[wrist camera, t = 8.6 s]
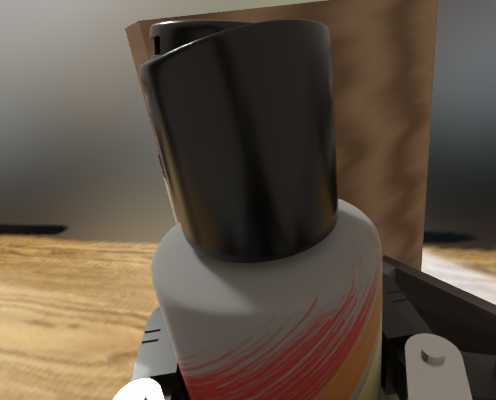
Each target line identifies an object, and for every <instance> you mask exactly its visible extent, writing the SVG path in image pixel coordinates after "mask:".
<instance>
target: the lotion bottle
mask: <svg viewBox="0 0 496 400" xmlns="http://www.w3.org/2000/svg"><path fill="white" fill-rule="evenodd" d="M150 39H152V40H153V41H154V50H155V55H153V56H151V59H150V60H149V61H147V62H145V63H144V64H142V65H141V66H140V67H139V73H140V77H141V81H142V85H143V89H144V93H145V96H146V100H147V104H148V107H149V111H150V114H151V118H152V122H153V125H154V129H155V133H156V136H157V140H158V144H159V147H160V151H161V155H162V158H163V162H164V166H165V169H166V173H167V177H168V180H169V184H170V188H171V191H172V195H173V199H174V202H175V206H176V210H177V213H178V217H179V220H180V222H179V223H178V224H177V225H176V226H174V227H173V228H172V229H171V230H170V231H169V232H168V233H167V234H166V235H165V237H164V238H163V239H162V241H161V242H160V244H159V246H158V248H157V250H156V252H155V254H154V257H153V261H152V277H153V284H154V287H155V291H156V295H157V298H158V302H159V305H160V308H161V312H162V315H163V318H164V321H165V325H166V328H167V331H168V334H169V337H170V340H171V343H172V346H173V349H174V352H175V355H176V358H177V362H178V365H179V368H180V371H181V374H182V377H183V380H184V383H185V386H186V389H187V392H188V395H189V398H190V400H381V355H382V248H381V242H380V238H379V234H378V231H377V229H376V227H375V226H374V224H373V223H372V221H371V220H370V219H369V218H368V217H367V216H366V215H365V214H364V213H363V212H362V211H361V210H359V209H358V208H356V207H355V206H353V205H351V204H349V203H348V202H345V201H343V200H341V199H338V185H337V161H336V137H335V113H334V89H333V66H332V44H331V33H330V30H329V28H328V27H327V26H326V25H324V24H322V23H319V22H316V21H312V20H305V19H279V20H270V21H263V22H249V21H234V20H173V21H165V22H159V23H155V24H153V25H152V26H151V27H150Z"/></svg>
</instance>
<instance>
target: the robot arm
mask: <svg viewBox="0 0 496 400" xmlns="http://www.w3.org/2000/svg"><path fill="white" fill-rule="evenodd" d="M144 332H145V334H144V335H143V339H142V344H141V346H140V349H139V353H138V356H137V360H136V363H135V367H134V370H133V374H132V378H131V381H130V384H128V385H127V386H126V387H124V388H123V389H122V390H121V391H120V392H119V393H118V394H117V396H116V397H115V398H114V400H190V398H189V395H188V392H187V389H186V386H185V383H184V380H183V377H182V374H181V371H180V368H179V365H178V362H177V358H176V355H175V352H174V349H173V346H172V343H171V340H170V337H169V334H168V331H167V328H166V325H165V321H164V318H163V315H162V312H161V308H160V307H159V308H156V309H155V311H154V312H153V313H152V315H151V316H150V317H149V319H148V321H147V324H146V328H145V331H144ZM381 387H382V389H383V391H384V393H385V395H386V396H387V395H393V394H397V396H398V397H399V399H400V400H496V356H495V355H486V354H477V353H469V352H464V351H460V350H458V349H457V347H456V346H455V345H454V344H452V343H451V342H450V341H448V340H446V339H445V338H443V337H440V336H437V335H434V334H433V332H432V331H431V330H430V328H429V327H428V326H427V324H426V323H425V322H424V320H423V319H422V317H421V316H420V315H419V313H418V312H417V311H416V309H415V308H414V307H413V305H412V304H411V303H410V301H408V299H407V297H406V296H405V294H404V293H403V292H402V291H401V289H400V288H399V286H398V285H397V284H396V282H395V281H394V280H393V279H392V278H390V277H389V276H387V275H386V274H384V273H383V272H382V355H381Z"/></svg>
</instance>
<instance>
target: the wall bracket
mask: <svg viewBox="0 0 496 400" xmlns="http://www.w3.org/2000/svg"><path fill="white" fill-rule="evenodd" d="M437 9H438V0H328V1H319V2H310V3H301V4H291V5H282V6H274V7H264V8H254V9H246V10H236V11H227V12H218V13H208V14H199V15H189V16H181V17H171V18H162V19H153V20H143V21H138V22H136V23H134V24H132V25H130V26H129V27H127V28H125V30H126V33H127V37H128V41H129V45H130V48H131V52H132V55H133V59H134V63H135V67H136V70H137V74H138V78H139V81H140V85H141V89H142V92H143V96H144V100H145V103H146V107H147V111H148V114H149V118H150V122H151V125H152V129H153V133H154V136H155V140H156V144H157V147H158V151H159V155H160V158H161V162H162V166H163V169H164V173H165V177H166V180H167V184H168V188H169V191H170V195H171V199H172V202H173V206H174V210H175V213H176V217H177V221H178V223H179V222H180V220H179V217H178V213H177V210H176V206H175V202H174V199H173V195H172V191H171V188H170V184H169V180H168V177H167V173H166V169H165V166H164V162H163V158H162V155H161V151H160V147H159V144H158V140H157V136H156V133H155V129H154V125H153V122H152V118H151V114H150V111H149V107H148V104H147V100H146V96H145V93H144V89H143V85H142V81H141V77H140V73H139V67H140V66H141V65H142V64H144V63H145V62H147V61H149V60H150V59H151V56H153V55H155V50H154V41H153V40H152V39H150V27H151V26H152V25H153V24H155V23H159V22H165V21H173V20H234V21H249V22H263V21H270V20H279V19H305V20H312V21H316V22H319V23H322V24H324V25H326V26H327V27H328V28H329V30H330V33H331V44H332V66H333V89H334V113H335V137H336V161H337V185H338V199H341V200H343V201H345V202H348V203H349V204H351V205H353V206H355V207H356V208H358V209H359V210H361V211H362V212H363V213H364V214H365V215H366V216H367V217H368V218H369V219H370V220H371V221H372V223H373V224H374V226H375V227H376V229H377V231H378V234H379V238H380V242H381V248H382V272H383V273H384V274H386V275H387V276H389V277H390V278H392V279H393V280H394V281H395V282H396V284H397V285H398V286H399V288H400V289H401V291H402V292H403V293H404V294H405V296H406V297H407V299H408V301H410V303H411V304H412V305H413V307H414V308H415V309H416V311H417V312H418V313H419V315H420V316H421V317H422V319H423V320H424V322H425V323H426V324H427V326H428V327H429V328H430V330H431V331H432V332H433V334H434V335H437V336H440V337H443V338H445V339H446V340H448V341H450V342H451V343H452V344H454V345H455V346H456V347H457V349H458V350H460V351H464V352H469V353H477V354H486V355H495V356H496V305H494V304H492V303H490V302H488V301H486V300H483V299H481V298H479V297H477V296H474V295H472V294H470V293H468V292H466V291H463V290H461V289H459V288H457V287H455V286H452V285H450V284H448V283H446V282H443V281H441V280H439V279H437V278H435V277H432V276H430V275H428V274H426V273H423V272H421V264H422V248H423V232H424V216H425V200H426V185H427V169H428V152H429V136H430V121H431V105H432V89H433V72H434V57H435V42H436V24H437ZM381 400H400V399H399V397H398V396H397V394H393V395H387V396H386V395H385V393H384V391H383V389H382V387H381Z"/></svg>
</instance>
